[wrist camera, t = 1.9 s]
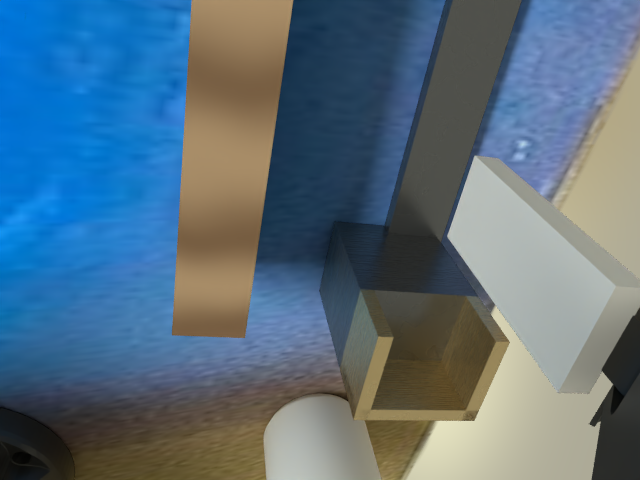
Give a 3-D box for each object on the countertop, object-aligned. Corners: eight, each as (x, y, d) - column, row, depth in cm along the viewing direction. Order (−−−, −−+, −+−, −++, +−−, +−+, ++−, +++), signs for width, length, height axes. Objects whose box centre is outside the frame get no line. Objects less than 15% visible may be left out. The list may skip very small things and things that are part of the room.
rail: (241, 262, 37) (244, 337, 30) (181, 258, 36) (171, 335, 29) (308, -267, 24) (342, -346, 17) (217, -294, 23) (214, -389, 16)
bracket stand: (413, 304, 41) (476, 429, 31) (317, 298, 39) (350, 429, 29) (595, -254, 25) (848, -379, 15) (449, -303, 24) (622, -482, 13)
